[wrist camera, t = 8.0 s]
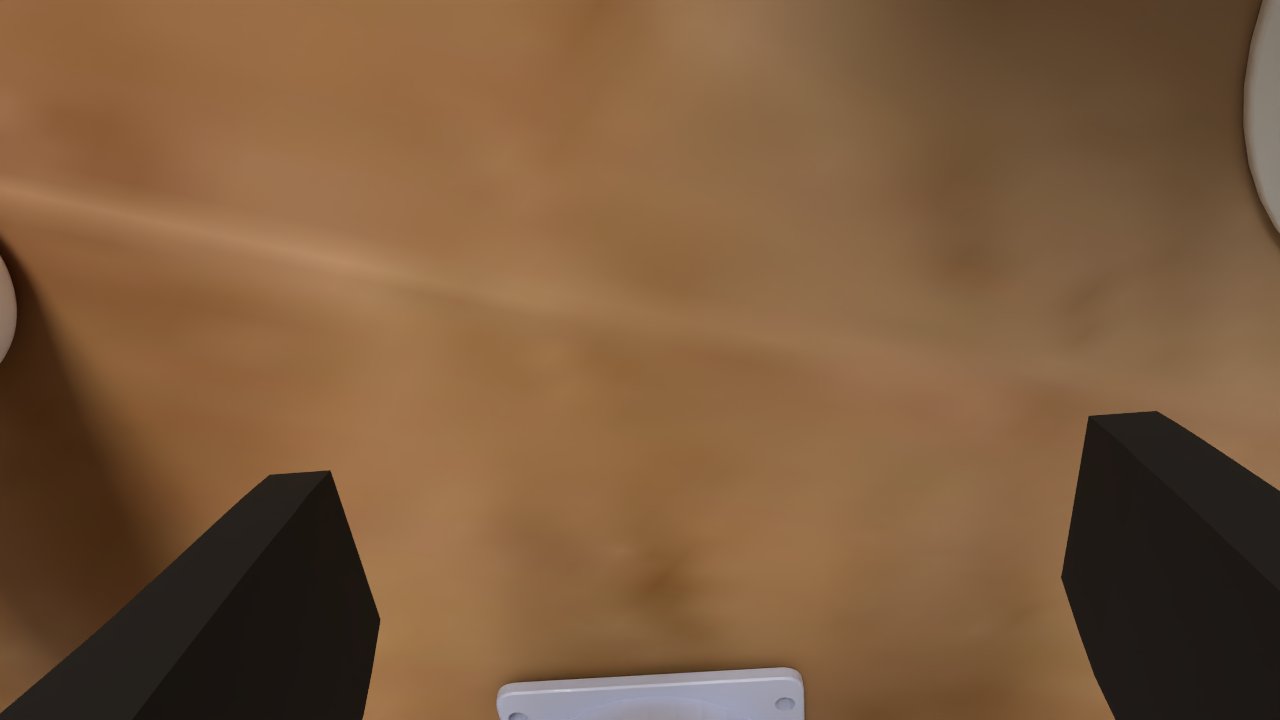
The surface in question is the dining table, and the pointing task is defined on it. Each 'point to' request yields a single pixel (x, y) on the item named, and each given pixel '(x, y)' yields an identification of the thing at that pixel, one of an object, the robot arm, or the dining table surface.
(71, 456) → the dining table surface
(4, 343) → the drinking glass
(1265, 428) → the dining table surface
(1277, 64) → the mat
